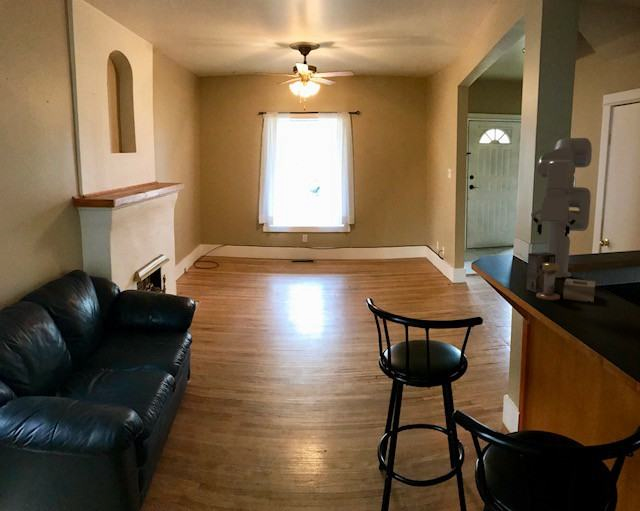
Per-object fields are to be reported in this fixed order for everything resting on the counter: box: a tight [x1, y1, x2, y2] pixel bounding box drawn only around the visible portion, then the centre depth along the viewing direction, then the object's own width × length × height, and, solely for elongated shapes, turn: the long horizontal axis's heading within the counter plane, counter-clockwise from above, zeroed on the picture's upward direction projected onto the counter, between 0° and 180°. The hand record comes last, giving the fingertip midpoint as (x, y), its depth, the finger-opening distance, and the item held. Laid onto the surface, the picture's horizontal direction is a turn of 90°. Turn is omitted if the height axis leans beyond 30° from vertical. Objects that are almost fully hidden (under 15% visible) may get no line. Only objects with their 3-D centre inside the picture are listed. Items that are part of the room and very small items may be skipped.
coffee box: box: [526, 251, 555, 293], centre depth 220 cm, size 9×6×16 cm
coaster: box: [535, 292, 561, 301], centre depth 210 cm, size 9×9×1 cm
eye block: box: [562, 278, 596, 303], centre depth 209 cm, size 11×11×6 cm
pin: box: [542, 263, 559, 296], centre depth 209 cm, size 6×6×13 cm
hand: (552, 235), depth 205 cm, fingers open, 9 cm apart
